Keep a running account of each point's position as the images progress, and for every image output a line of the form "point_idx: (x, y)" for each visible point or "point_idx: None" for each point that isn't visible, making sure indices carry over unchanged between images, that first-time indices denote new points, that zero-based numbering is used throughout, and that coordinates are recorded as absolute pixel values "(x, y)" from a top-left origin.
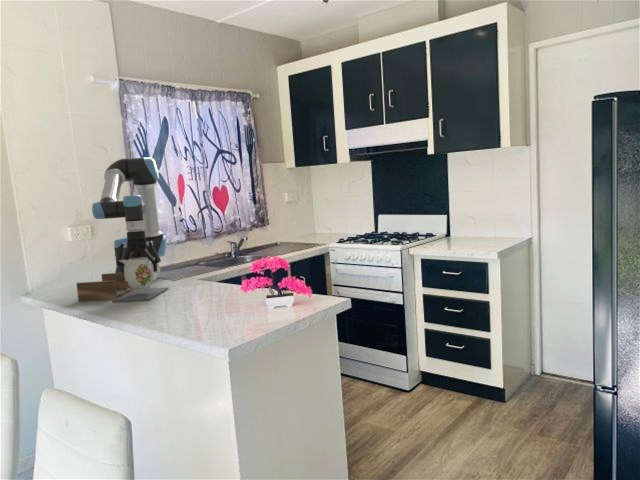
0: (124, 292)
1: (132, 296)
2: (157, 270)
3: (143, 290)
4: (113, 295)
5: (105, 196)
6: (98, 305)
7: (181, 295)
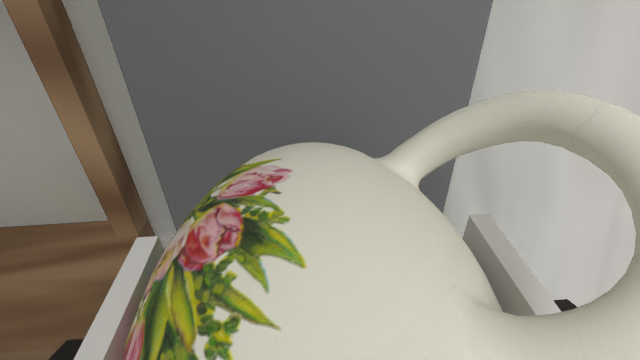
0: (89, 105)
1: None
2: (562, 140)
3: (243, 14)
4: None
5: None
6: None
7: (597, 209)
